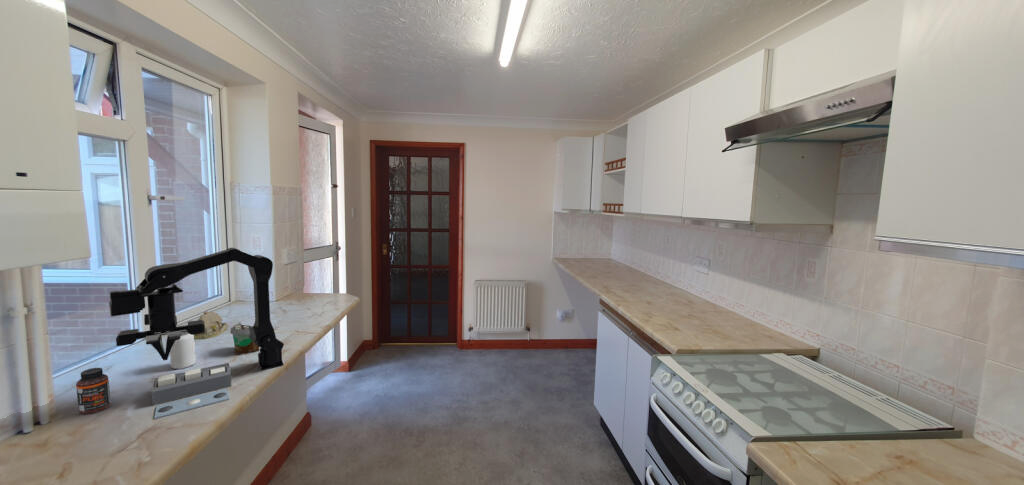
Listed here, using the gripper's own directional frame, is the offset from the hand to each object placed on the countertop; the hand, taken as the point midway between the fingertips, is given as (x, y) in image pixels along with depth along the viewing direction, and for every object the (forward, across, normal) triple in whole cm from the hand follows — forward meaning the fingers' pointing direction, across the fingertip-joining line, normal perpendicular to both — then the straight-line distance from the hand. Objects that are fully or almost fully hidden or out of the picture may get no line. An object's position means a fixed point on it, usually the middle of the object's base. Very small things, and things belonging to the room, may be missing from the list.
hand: (165, 359), depth 110 cm
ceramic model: (+11, -10, -54) cm, 56 cm away
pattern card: (+11, -6, +10) cm, 16 cm away
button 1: (+8, 0, 0) cm, 8 cm away
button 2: (+9, -12, 0) cm, 15 cm away
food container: (+11, -20, -24) cm, 33 cm away
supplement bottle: (+12, +15, -2) cm, 19 cm away
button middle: (+7, -6, 0) cm, 10 cm away
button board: (+11, -6, 0) cm, 13 cm away
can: (+11, -3, -22) cm, 25 cm away
